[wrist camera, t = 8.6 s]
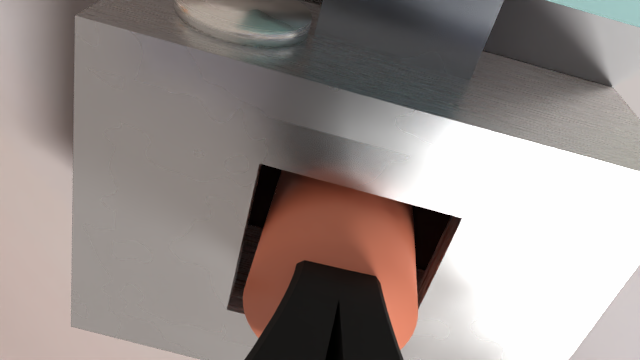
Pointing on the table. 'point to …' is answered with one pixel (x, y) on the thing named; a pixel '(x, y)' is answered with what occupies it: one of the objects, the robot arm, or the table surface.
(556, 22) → the table surface
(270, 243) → the push button
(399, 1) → the rail
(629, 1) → the block
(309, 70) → the block with square hole
